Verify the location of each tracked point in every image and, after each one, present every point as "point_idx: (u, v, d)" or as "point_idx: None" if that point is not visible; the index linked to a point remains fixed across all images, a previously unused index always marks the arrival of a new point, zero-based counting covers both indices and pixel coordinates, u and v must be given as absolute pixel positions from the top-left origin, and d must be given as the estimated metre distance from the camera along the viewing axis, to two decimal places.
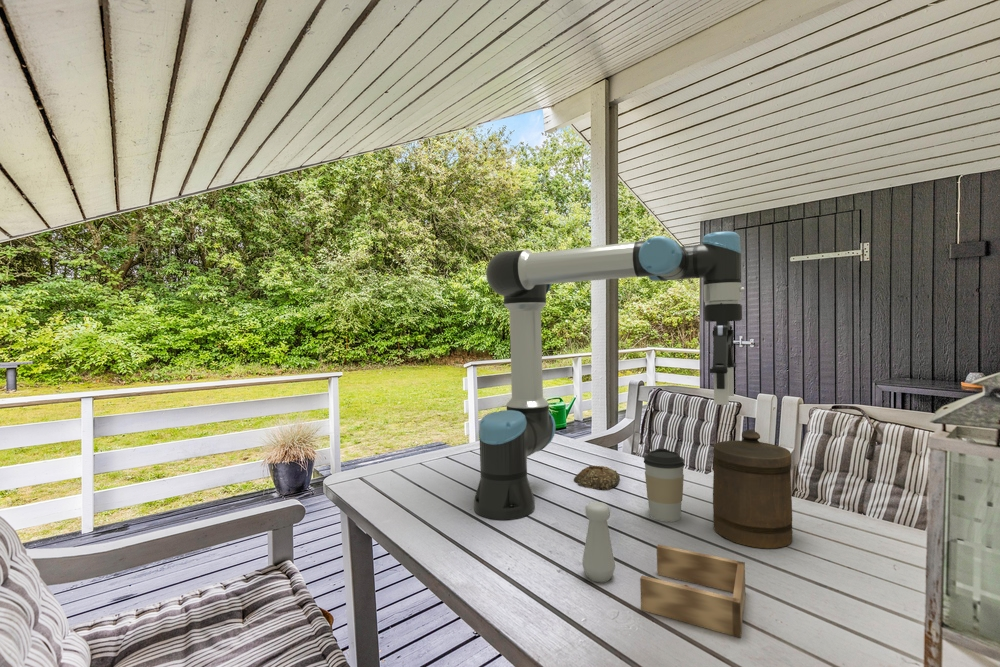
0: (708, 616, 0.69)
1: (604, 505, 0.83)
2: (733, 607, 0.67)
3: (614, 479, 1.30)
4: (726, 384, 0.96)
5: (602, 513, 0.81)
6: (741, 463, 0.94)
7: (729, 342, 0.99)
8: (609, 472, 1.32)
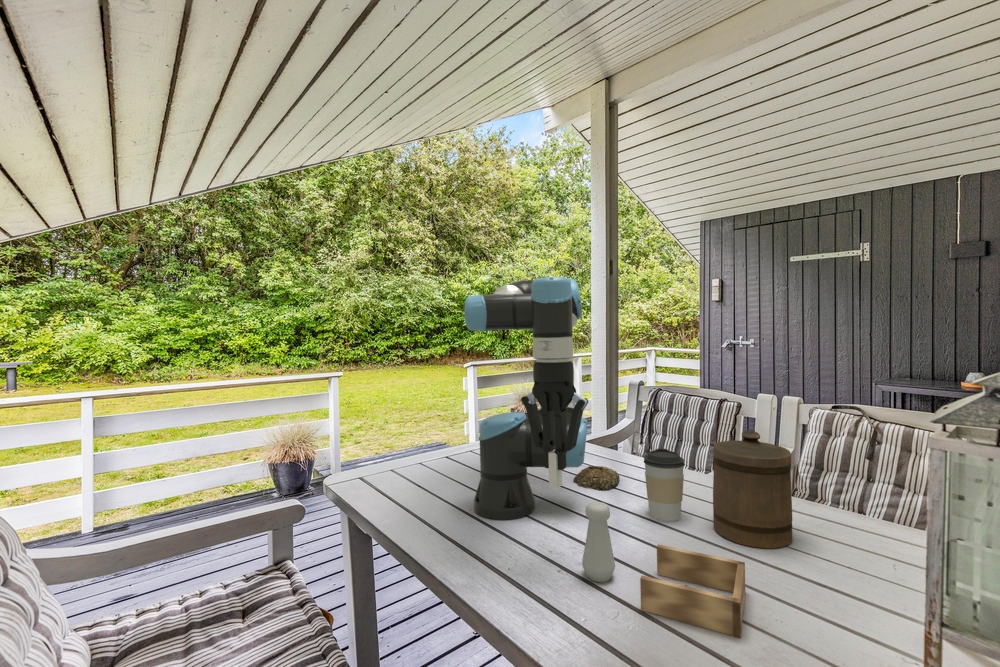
0: (708, 616, 0.69)
1: (604, 505, 0.83)
2: (733, 607, 0.67)
3: (614, 480, 1.30)
4: None
5: (602, 513, 0.81)
6: (741, 463, 0.94)
7: None
8: (609, 472, 1.32)
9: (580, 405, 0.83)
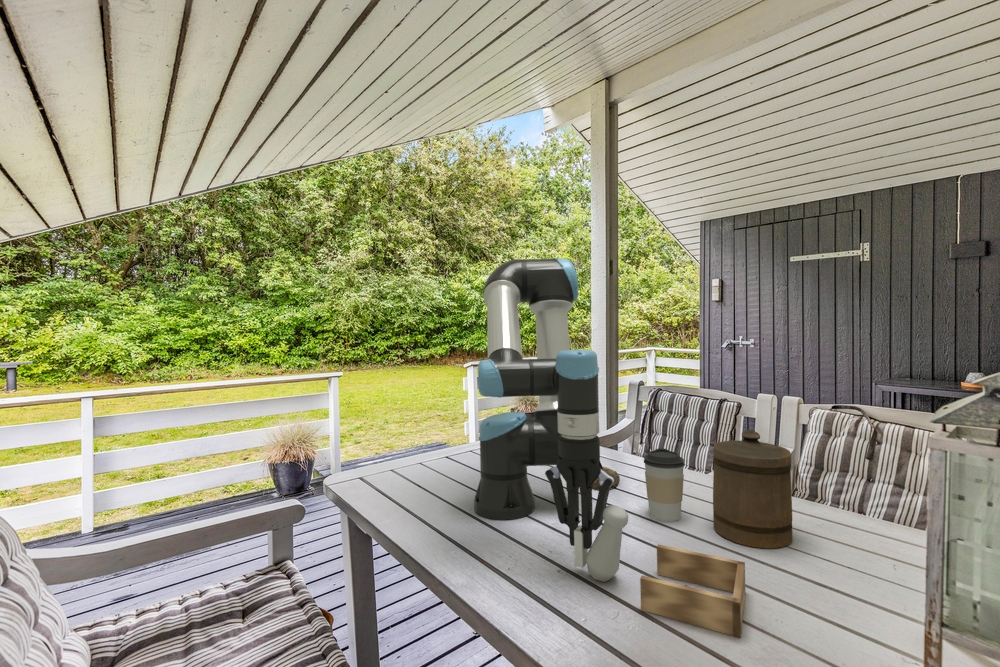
0: (708, 616, 0.69)
1: (624, 512, 0.80)
2: (733, 607, 0.67)
3: None
4: None
5: (621, 521, 0.79)
6: (741, 463, 0.94)
7: None
8: (609, 473, 1.32)
9: (607, 485, 0.81)
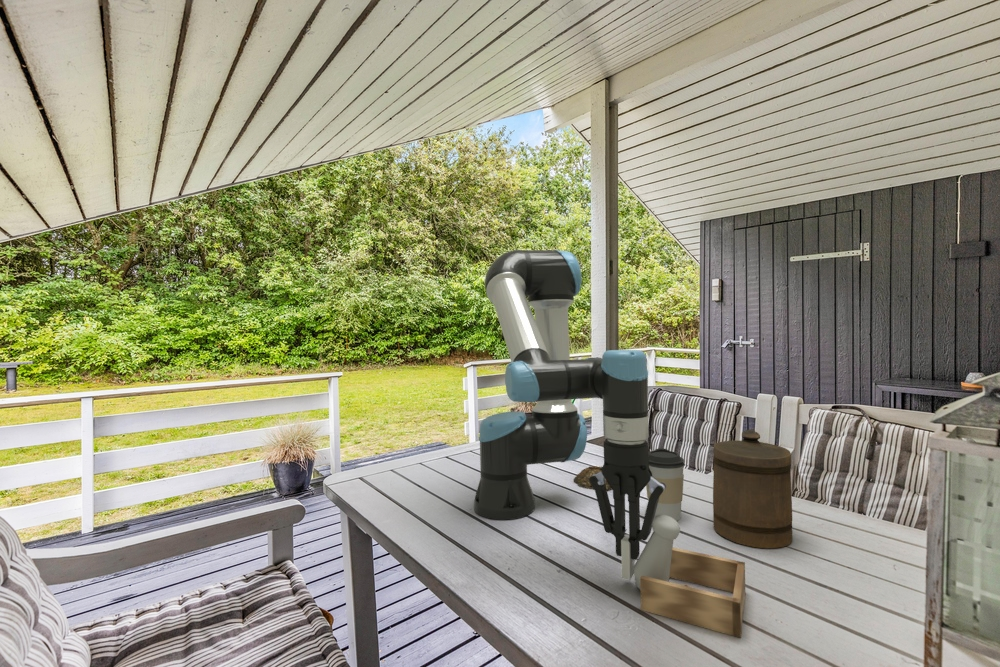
0: (708, 616, 0.69)
1: (675, 523, 0.76)
2: (733, 607, 0.67)
3: None
4: None
5: (673, 533, 0.74)
6: (741, 463, 0.94)
7: None
8: None
9: (658, 492, 0.77)
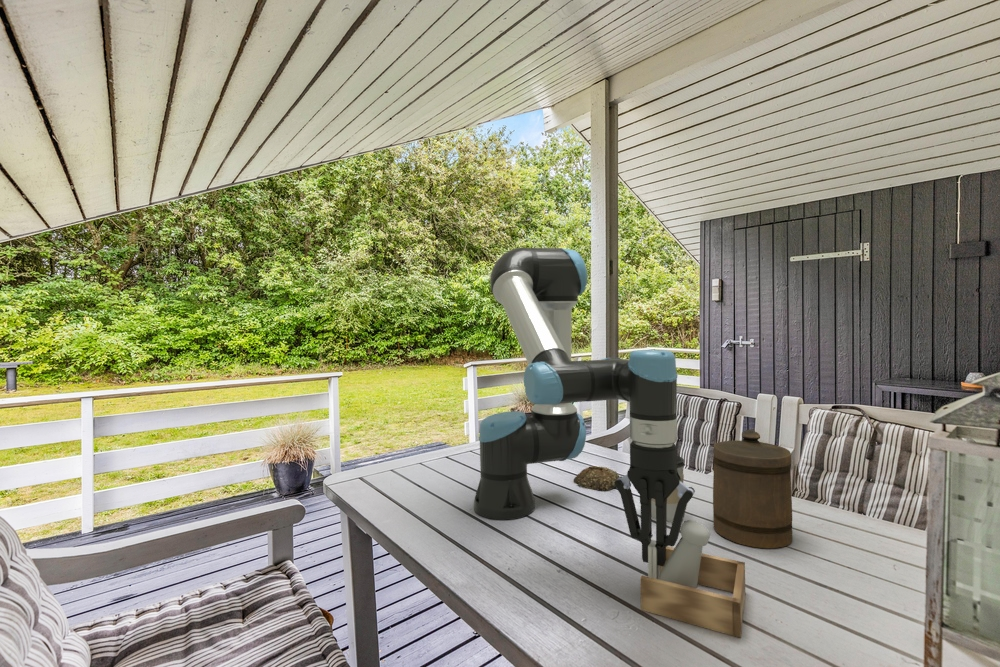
0: (708, 616, 0.69)
1: (705, 529, 0.73)
2: (733, 607, 0.67)
3: (614, 480, 1.30)
4: None
5: (703, 539, 0.72)
6: (741, 463, 0.94)
7: None
8: (609, 473, 1.32)
9: (688, 497, 0.74)
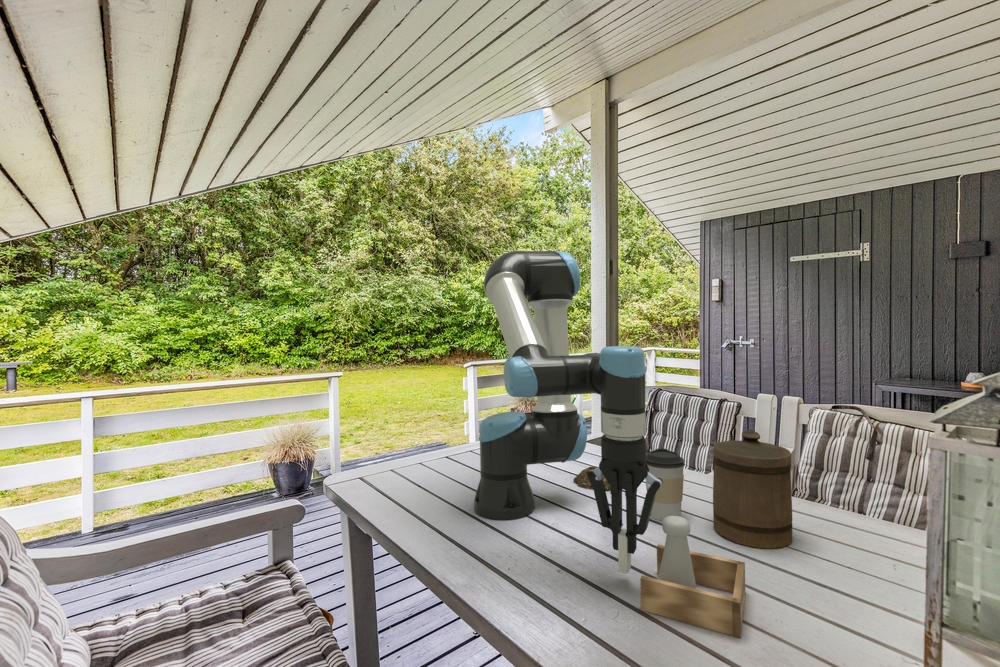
0: (708, 616, 0.69)
1: (684, 519, 0.76)
2: (733, 607, 0.67)
3: None
4: None
5: (683, 529, 0.74)
6: (741, 463, 0.94)
7: None
8: None
9: (655, 488, 0.77)
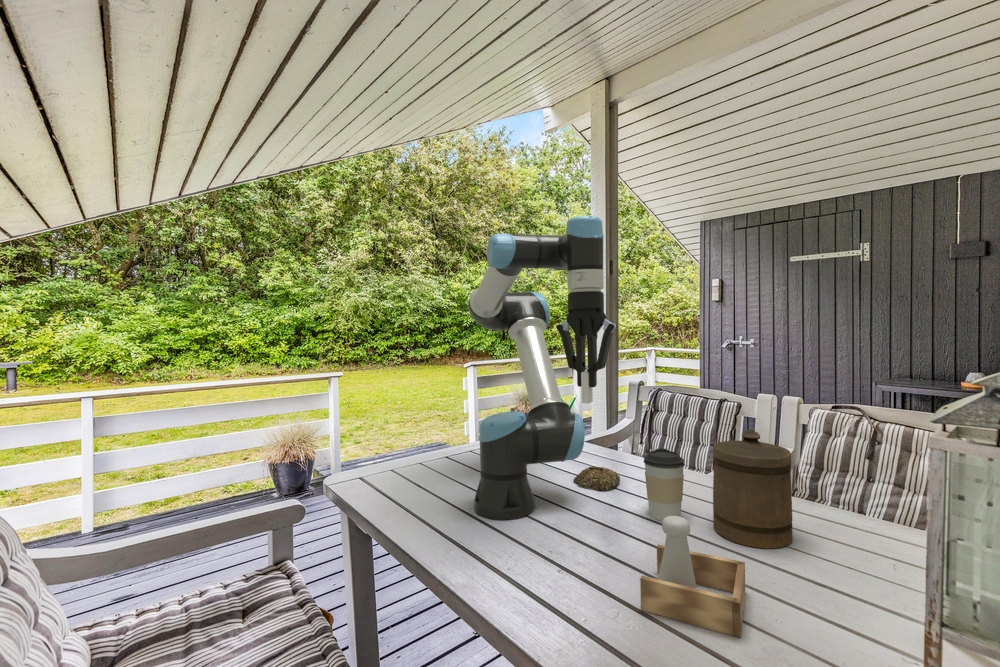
0: (708, 616, 0.69)
1: (683, 519, 0.76)
2: (733, 607, 0.67)
3: (614, 480, 1.29)
4: None
5: (683, 529, 0.75)
6: (741, 463, 0.94)
7: None
8: (609, 473, 1.31)
9: (610, 328, 0.95)
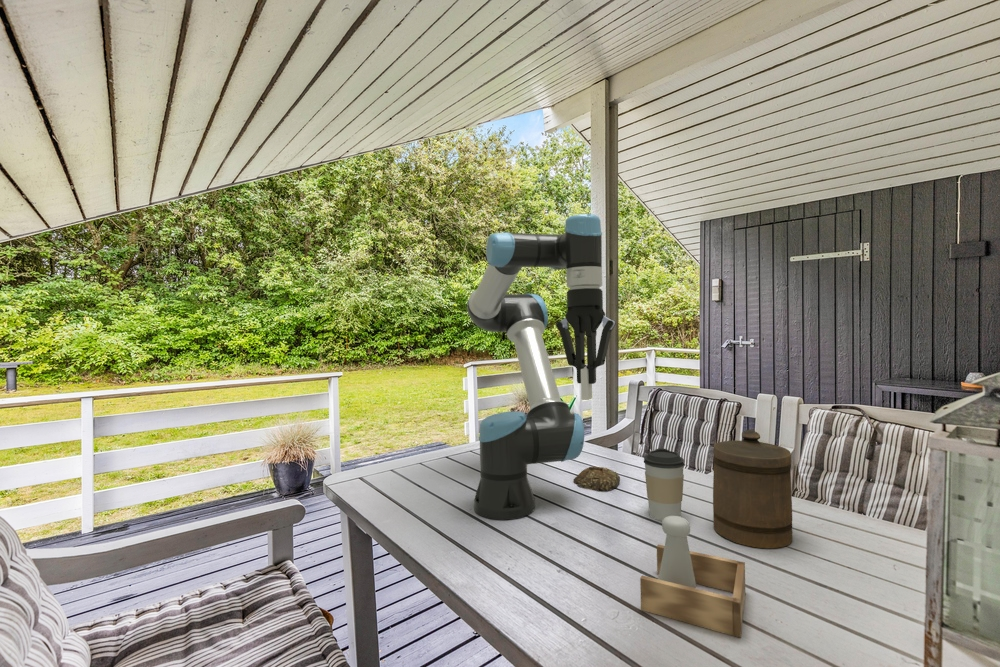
0: (708, 616, 0.69)
1: (683, 519, 0.76)
2: (733, 607, 0.67)
3: (614, 481, 1.29)
4: None
5: (683, 529, 0.75)
6: (741, 463, 0.94)
7: None
8: (609, 473, 1.31)
9: (609, 325, 0.96)
